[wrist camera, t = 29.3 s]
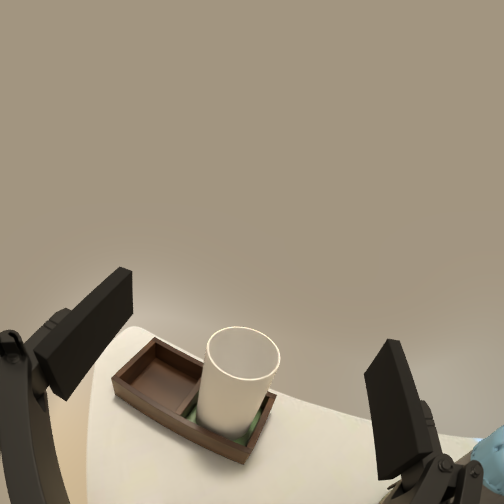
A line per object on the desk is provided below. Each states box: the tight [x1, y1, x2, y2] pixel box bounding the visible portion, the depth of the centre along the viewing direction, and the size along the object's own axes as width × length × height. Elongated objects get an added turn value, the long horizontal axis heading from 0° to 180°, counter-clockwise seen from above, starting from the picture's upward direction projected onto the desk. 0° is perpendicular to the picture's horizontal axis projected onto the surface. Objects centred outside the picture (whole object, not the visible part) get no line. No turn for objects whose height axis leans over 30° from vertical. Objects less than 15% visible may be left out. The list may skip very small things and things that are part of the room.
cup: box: [196, 327, 280, 441], centre depth 32 cm, size 8×8×16 cm
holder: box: [111, 337, 277, 465], centre depth 36 cm, size 11×22×5 cm, turn 70°
